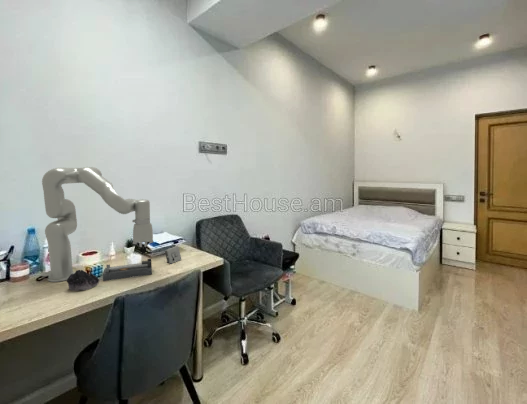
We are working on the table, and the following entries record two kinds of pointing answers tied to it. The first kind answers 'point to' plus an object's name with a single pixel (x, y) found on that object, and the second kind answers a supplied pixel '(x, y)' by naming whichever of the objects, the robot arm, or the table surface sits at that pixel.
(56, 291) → the table surface
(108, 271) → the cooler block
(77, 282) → the crystal cluster
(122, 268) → the thin grey rod
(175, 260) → the electrical switch
